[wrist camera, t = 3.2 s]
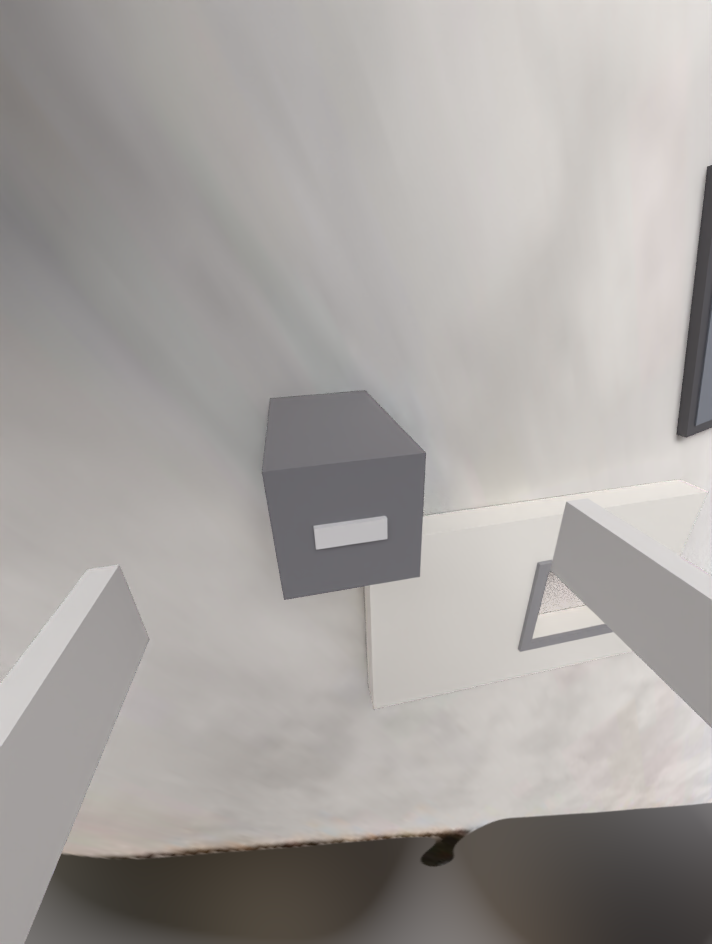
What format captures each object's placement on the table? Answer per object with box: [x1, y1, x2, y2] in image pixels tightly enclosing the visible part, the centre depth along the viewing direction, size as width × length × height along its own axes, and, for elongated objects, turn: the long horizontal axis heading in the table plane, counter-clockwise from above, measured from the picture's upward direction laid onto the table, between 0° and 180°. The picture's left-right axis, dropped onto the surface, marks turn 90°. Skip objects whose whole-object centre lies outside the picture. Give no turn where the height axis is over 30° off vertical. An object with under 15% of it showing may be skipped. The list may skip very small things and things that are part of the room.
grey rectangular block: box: [262, 390, 426, 600], centre depth 16 cm, size 5×5×9 cm
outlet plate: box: [364, 479, 709, 710], centre depth 27 cm, size 24×16×2 cm, turn 92°
